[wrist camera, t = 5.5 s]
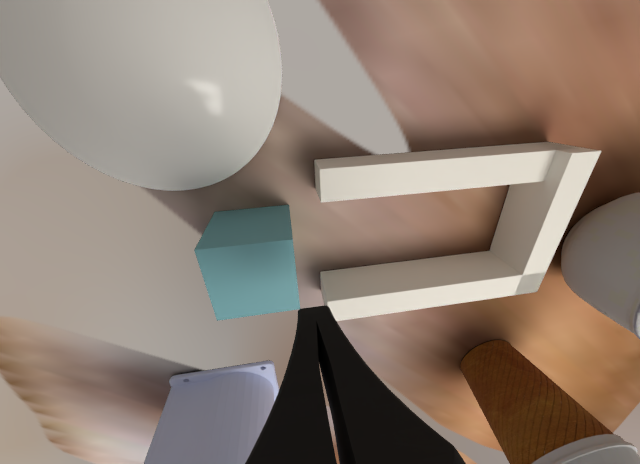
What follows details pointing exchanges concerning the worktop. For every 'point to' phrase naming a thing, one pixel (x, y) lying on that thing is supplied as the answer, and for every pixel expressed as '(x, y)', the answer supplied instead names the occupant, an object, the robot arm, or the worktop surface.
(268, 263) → the cube
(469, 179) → the frame
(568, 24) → the worktop surface
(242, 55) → the dish
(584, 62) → the worktop surface
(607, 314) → the teacup
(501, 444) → the disposable coffee cup
